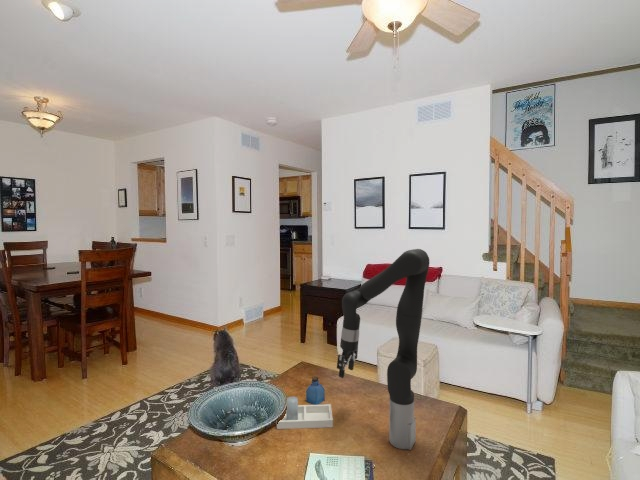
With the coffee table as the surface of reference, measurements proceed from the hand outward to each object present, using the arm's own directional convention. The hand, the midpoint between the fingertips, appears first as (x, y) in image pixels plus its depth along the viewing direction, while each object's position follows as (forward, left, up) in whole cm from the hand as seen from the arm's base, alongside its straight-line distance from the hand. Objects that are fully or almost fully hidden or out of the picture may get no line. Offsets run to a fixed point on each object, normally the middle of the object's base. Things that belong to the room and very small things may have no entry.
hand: (346, 373), depth 147 cm
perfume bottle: (+19, -4, -21) cm, 28 cm away
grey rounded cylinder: (+18, +14, -19) cm, 30 cm away
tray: (+14, +11, -20) cm, 27 cm away
